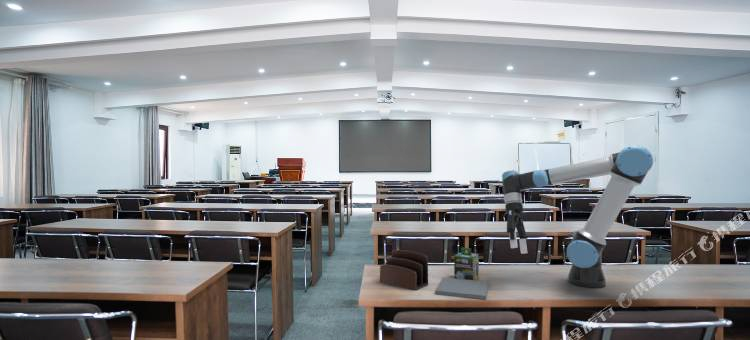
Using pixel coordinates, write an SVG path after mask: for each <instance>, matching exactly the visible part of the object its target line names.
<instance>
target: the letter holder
mask: <svg viewBox="0 0 750 340" xmlns="http://www.w3.org/2000/svg"><path fill="white" fill-rule="evenodd" d="M379 282H380V283H385V284H388V285H391V286H396V287H401V288H406V289H409V290H413V291H419V290H420V289H423V288H425V287H427V286H429V258H428V256H427V255H426V254H423V253H421V252H416V251H413V250H405V249H392V251H391V257H386V259H385V264H381V265H380V266H379Z"/></svg>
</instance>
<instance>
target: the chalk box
mask: <svg viewBox="0 0 750 340" xmlns="http://www.w3.org/2000/svg"><path fill="white" fill-rule="evenodd" d="M466 251H467V252H466ZM479 263H480V262H479V253H473V252H472V248H469V247H460V252H458V253H457V254H454V256H453V270H454V271H453V278H455V279H465V280H476V281H478V279H479V278H480V274H479V273H480V271H479V270H480V269H479V268H480V267H479V266H480V265H479Z"/></svg>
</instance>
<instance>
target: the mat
mask: <svg viewBox="0 0 750 340" xmlns="http://www.w3.org/2000/svg"><path fill="white" fill-rule="evenodd" d="M488 290H489V281H485V280H484V281H483V280H465V279H455V278H454V277H442V278H441V280H440V281H439V284H438V285H437V287H436V289H435V293H434V295H439V296H440V295H441V296H447V295H448V297H457V296H460V297H459V298H466V297H468V298H470V299H475V298H478V299H479V300H485V299H486V300H487V295H488ZM478 299H477V300H478Z"/></svg>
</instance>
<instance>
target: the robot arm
mask: <svg viewBox="0 0 750 340" xmlns="http://www.w3.org/2000/svg"><path fill="white" fill-rule="evenodd" d="M653 164H654V157H653V154H652V153H651V151H649V149H647V148H645V147H643V146H640V145H628V146H627V147H624V148H622V149H621V150H620V151H618V152H615V153H611V154H609V156H608V157H602V158H597V159H592V160H588V161H587V160H586V161H581V162H577V163H572V164H568V165H563V166H558V167H551V168H548V169H537V170H533V171H529V172H524V173H519V172H518V171H516V170H506V171H505V172H503V173H502V174H501V181H502V182H501V183H502V189H503V197H504V198H502V199H503V202H504V204H505V205H504V207H505V213H506V214H507V215H506V217H507V218H506V219H507V220H506V221H507V222H506V233H508V235H509V244H510V249H517V248H518V241H519V249H520V250H519V251H520V254H523V255H524V254H528V247H527V239H528V236H527V233H526V229H525V224H524V220H523V216H520V214H522V213H523V212H524V205H523V198H522V191H525V190H531V189H537V188H543V187H547V186H553V185H556V184H563V183H569V182H576V181H579V180H580V181H581V180H587V179H591V178H597V177H603V176H608V175H610V176H611V177H610V179H609V181H608V183H607V184H606V187H605V189H603V192H602V194H601V195H600V198H598V199H599V200H597V203H596V205H595V206H594V208H593V210H592V211H591V214H590V216H589V218H588V219H587V221H586V223H585V225H584V227H583V228H580V229H577V230H576V231H573V232H572V236H571V237H572V239H571V242H570V243H569V244H568V245H567V247H566V257H567V260H569V262H570V263H571V267H570V269H569V272H568V275H567V281H568V283H570V284H572V285H576V286H579V287H584V288H595V289H596V288H597V289H599V288H604V287H606V285H607V284H606V283H607V281H606V277H605V274H604V271H603V269H602V268H603V267H602V265H603V264H602V259H603V258H602V254H603V253H602V252H603V251H604V249H605V247H606V245H607V241H606V239H605V238H606V237H607V235H608V233H609V232H610V230H611V228H612V226H613V225H614V223H615V221H616V219H617V218H618V216H619V214H620V212H621V211H622V209H623V207H624V206H625V204H626V202H627V201H628V199H629V196H631V193H632V192H633V189H634V188H635V187H638V186H641V184H642V183H643V181H644V179H645V178H646V176H647V174H648V172H649V171H650V170H651V169H652V168H653ZM516 231H517V232H516ZM517 234H518V236H519V238H517ZM518 239H519V240H518Z"/></svg>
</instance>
